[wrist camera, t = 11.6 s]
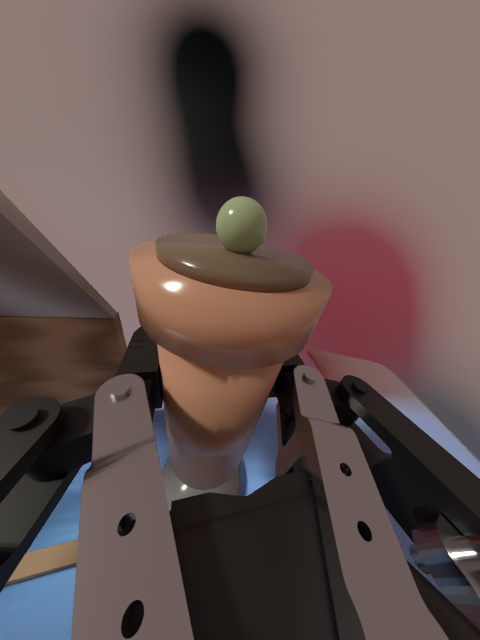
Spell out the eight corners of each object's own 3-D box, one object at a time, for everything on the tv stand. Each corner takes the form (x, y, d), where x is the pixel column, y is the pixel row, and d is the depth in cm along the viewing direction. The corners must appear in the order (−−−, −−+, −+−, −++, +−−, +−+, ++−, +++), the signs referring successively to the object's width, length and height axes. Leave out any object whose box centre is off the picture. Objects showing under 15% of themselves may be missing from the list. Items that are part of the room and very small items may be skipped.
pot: (191, 533, 8) (235, 168, 1) (148, 433, 12) (86, 163, 4) (266, 449, 12) (393, 226, 5) (217, 389, 15) (248, 201, 8)
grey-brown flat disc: (183, 573, 12) (184, 572, 12) (146, 473, 16) (145, 470, 16) (253, 486, 17) (255, 483, 16) (210, 424, 20) (211, 420, 20)
